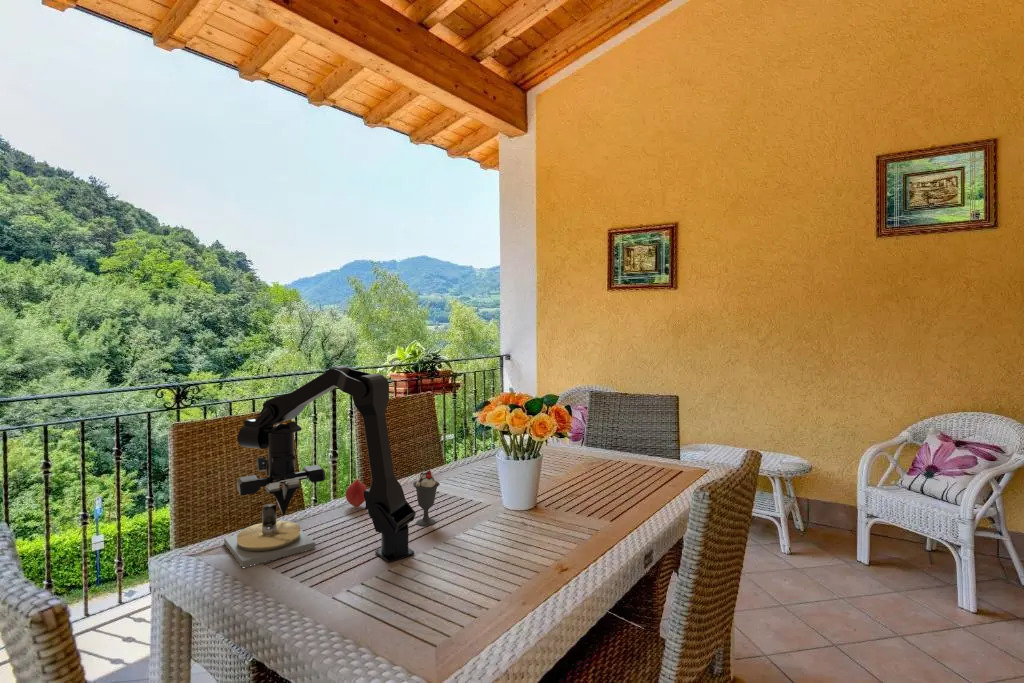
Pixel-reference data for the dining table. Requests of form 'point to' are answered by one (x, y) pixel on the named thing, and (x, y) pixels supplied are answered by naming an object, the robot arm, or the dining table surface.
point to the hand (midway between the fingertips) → (283, 514)
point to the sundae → (426, 496)
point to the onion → (356, 493)
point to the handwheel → (268, 532)
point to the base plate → (257, 557)
